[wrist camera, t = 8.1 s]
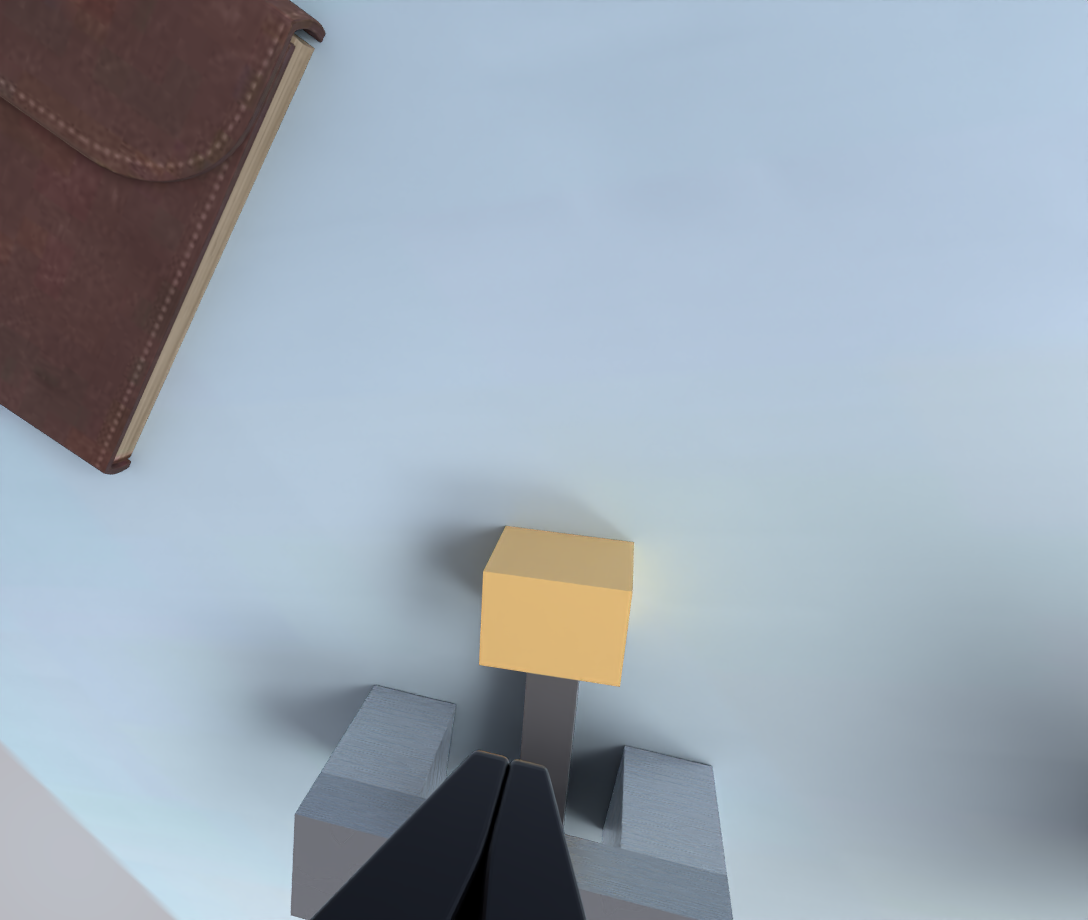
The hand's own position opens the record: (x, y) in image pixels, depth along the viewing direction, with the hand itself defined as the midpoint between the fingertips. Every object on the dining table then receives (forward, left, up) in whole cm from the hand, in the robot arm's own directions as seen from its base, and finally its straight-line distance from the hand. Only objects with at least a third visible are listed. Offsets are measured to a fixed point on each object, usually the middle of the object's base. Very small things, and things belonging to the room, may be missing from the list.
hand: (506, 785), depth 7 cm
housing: (0, +12, -12) cm, 17 cm away
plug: (-1, +11, -12) cm, 17 cm away
